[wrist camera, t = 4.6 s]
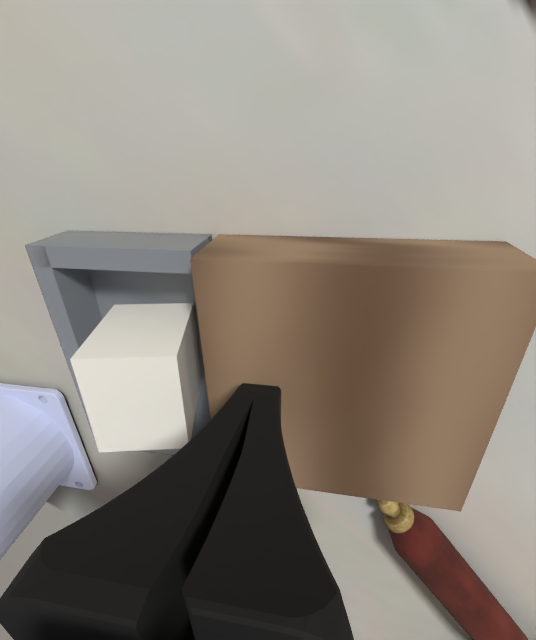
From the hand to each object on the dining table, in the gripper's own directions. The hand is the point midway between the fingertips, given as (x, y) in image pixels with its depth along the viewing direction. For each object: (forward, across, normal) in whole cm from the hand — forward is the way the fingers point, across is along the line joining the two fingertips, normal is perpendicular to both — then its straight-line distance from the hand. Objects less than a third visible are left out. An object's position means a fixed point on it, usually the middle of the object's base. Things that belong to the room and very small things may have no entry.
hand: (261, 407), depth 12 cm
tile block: (+1, +3, 0) cm, 3 cm away
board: (+4, -3, 0) cm, 5 cm away
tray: (+4, +6, 0) cm, 7 cm away
